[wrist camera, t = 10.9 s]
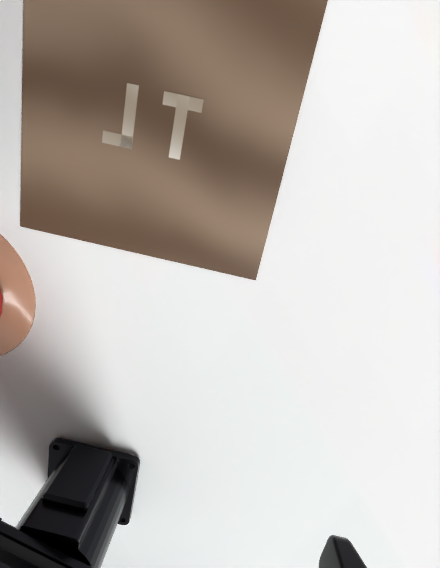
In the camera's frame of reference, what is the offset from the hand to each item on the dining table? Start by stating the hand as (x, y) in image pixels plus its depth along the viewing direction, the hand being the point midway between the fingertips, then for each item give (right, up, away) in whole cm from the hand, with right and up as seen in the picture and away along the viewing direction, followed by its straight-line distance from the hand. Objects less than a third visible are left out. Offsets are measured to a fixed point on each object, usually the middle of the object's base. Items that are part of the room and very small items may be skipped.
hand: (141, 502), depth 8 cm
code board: (-1, +13, +10) cm, 17 cm away
